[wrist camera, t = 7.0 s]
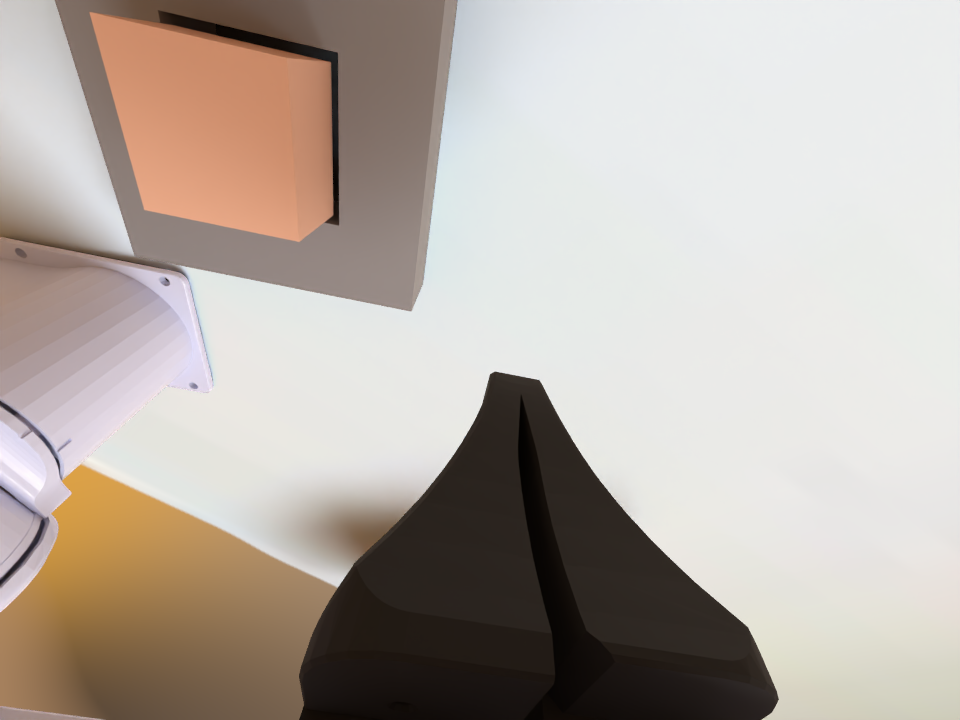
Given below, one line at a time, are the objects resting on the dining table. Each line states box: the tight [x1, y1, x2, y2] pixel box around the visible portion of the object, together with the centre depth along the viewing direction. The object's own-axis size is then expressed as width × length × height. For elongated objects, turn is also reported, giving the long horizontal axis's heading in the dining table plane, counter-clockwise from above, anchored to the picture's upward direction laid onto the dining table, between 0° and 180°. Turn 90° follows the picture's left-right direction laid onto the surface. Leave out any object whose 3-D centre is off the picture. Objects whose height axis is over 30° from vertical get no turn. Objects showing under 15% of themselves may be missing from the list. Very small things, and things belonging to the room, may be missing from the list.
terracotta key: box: [89, 12, 333, 242], centre depth 13 cm, size 5×5×3 cm
